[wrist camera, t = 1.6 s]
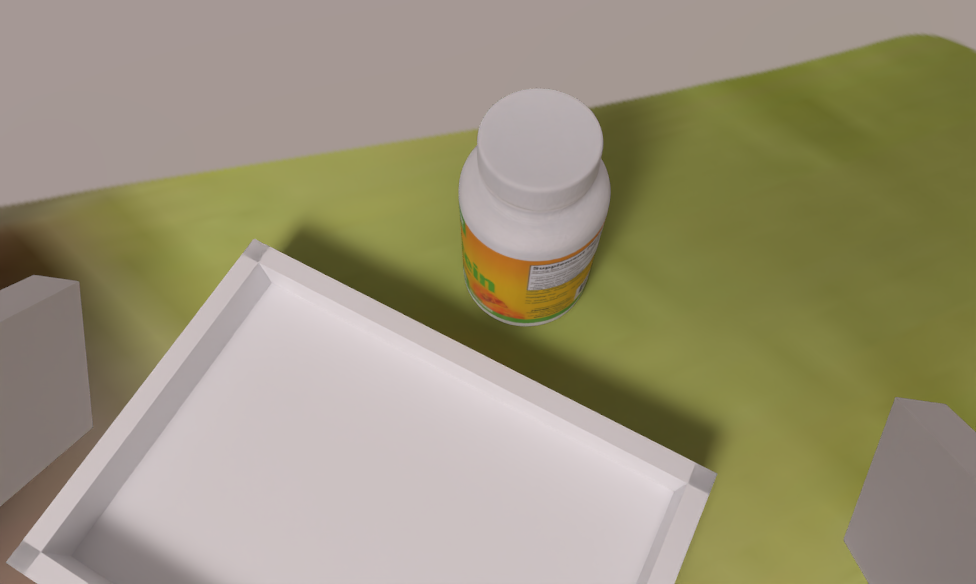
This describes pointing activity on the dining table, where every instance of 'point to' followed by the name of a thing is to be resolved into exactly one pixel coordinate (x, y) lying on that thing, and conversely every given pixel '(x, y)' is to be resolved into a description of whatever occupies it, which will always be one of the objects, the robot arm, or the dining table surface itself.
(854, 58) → the dining table surface
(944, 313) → the dining table surface
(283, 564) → the white tray
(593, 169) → the supplement bottle
